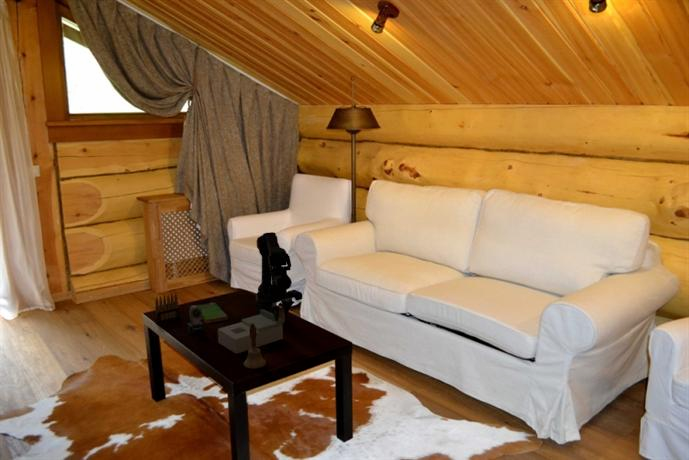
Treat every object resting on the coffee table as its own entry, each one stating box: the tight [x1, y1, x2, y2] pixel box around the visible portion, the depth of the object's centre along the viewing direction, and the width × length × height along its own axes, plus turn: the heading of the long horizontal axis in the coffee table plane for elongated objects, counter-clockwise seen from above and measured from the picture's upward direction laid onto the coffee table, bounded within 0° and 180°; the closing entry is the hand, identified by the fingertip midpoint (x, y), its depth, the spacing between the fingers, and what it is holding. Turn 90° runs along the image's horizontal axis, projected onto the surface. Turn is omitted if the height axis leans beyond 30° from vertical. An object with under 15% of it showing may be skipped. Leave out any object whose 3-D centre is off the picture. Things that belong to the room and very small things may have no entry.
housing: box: [217, 321, 284, 354], centre depth 235 cm, size 22×14×6 cm, turn 131°
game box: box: [196, 302, 229, 324], centre depth 265 cm, size 3×10×20 cm
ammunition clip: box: [154, 293, 181, 325], centre depth 257 cm, size 11×2×12 cm, turn 129°
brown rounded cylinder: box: [276, 307, 286, 325], centre depth 229 cm, size 3×3×6 cm
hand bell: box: [243, 323, 267, 370], centre depth 214 cm, size 8×8×16 cm
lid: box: [241, 309, 282, 331], centre depth 237 cm, size 10×13×3 cm
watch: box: [186, 305, 205, 334], centre depth 245 cm, size 6×8×11 cm
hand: (280, 319), depth 229 cm, fingers closed on brown rounded cylinder, 3 cm apart
